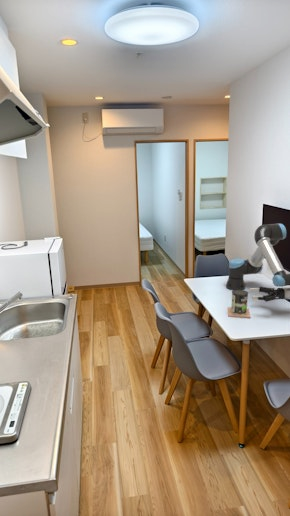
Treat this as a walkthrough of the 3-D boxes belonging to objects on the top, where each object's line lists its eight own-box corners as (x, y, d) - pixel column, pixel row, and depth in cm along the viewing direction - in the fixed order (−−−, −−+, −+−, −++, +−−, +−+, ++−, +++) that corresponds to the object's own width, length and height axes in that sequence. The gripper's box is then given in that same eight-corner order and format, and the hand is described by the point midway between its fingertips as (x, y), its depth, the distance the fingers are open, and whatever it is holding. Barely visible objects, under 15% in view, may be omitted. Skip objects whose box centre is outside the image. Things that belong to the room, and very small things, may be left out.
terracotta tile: (227, 308, 240) (227, 307, 239) (248, 309, 237) (248, 308, 236) (228, 316, 226) (228, 315, 226) (250, 318, 223) (250, 316, 223)
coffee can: (250, 312, 230) (251, 292, 226) (240, 316, 224) (241, 296, 221) (237, 307, 238) (238, 288, 235) (227, 311, 232) (228, 291, 229)
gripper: (288, 306, 218) (254, 306, 221) (279, 291, 242) (248, 292, 245) (289, 295, 216) (254, 296, 219) (279, 281, 240) (248, 282, 243)
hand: (250, 294), depth 232 cm, fingers open, 13 cm apart
